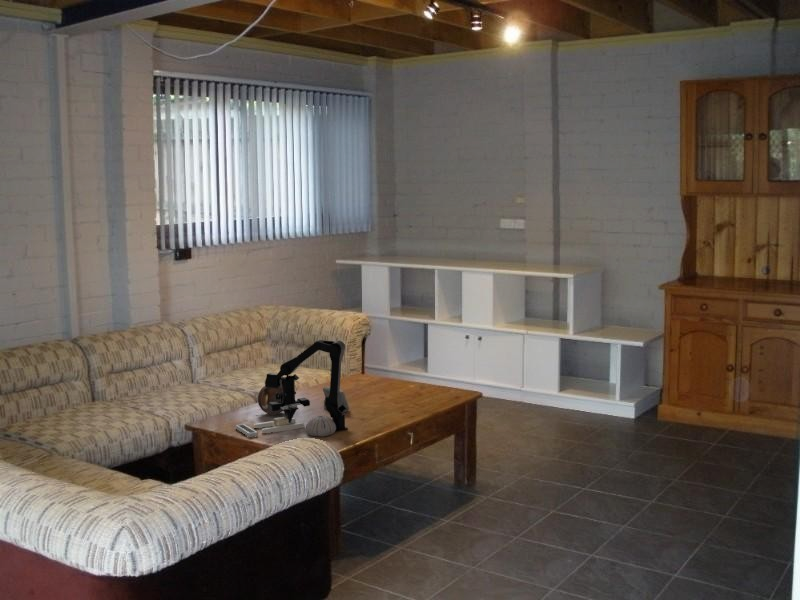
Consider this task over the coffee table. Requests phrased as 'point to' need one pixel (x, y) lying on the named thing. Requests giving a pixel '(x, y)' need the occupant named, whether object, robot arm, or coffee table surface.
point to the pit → (251, 432)
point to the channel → (278, 428)
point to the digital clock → (343, 397)
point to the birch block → (280, 421)
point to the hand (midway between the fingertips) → (289, 422)
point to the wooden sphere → (268, 399)
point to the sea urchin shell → (321, 426)
